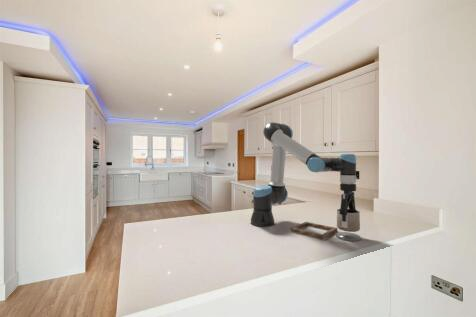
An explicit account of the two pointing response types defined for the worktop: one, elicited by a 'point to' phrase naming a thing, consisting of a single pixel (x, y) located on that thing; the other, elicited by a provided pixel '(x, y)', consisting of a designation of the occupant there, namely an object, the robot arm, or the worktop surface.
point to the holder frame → (321, 236)
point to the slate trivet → (348, 236)
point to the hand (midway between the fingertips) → (348, 225)
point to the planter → (349, 220)
